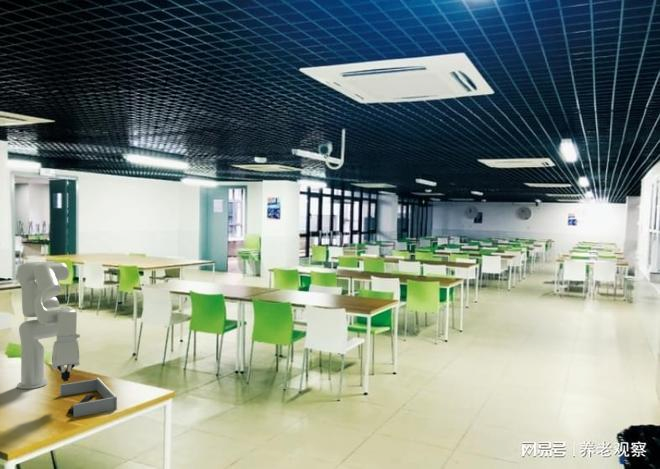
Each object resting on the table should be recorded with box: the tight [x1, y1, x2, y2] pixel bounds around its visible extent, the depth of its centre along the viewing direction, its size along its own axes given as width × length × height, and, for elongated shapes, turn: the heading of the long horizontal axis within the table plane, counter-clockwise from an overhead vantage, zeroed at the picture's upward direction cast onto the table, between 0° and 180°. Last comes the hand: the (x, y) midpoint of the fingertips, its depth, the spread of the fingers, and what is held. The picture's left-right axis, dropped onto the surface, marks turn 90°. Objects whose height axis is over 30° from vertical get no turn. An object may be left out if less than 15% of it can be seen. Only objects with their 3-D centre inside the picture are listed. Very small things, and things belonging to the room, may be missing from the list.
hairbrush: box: [68, 393, 95, 412], centre depth 218 cm, size 8×4×25 cm
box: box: [59, 377, 118, 418], centre depth 222 cm, size 32×16×6 cm, turn 37°
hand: (65, 380), depth 217 cm, fingers closed
